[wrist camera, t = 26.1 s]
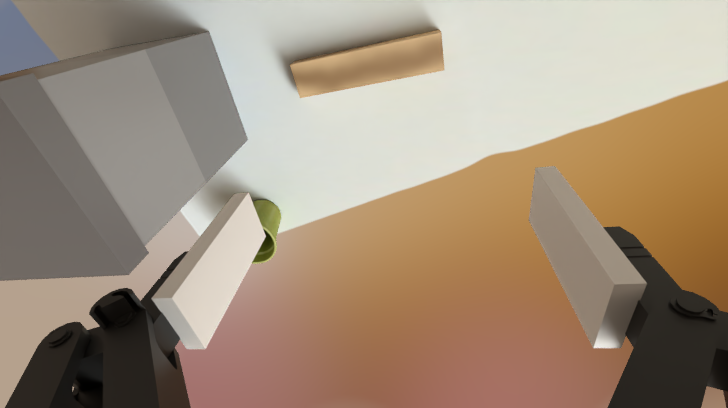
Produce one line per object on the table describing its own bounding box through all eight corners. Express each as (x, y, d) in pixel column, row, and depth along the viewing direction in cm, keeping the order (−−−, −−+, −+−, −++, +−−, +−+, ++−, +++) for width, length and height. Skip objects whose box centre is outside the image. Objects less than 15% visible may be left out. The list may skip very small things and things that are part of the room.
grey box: (104, 45, 50) (-197, 114, 25) (210, 26, 47) (-10, 84, 22) (159, 152, 59) (-21, 281, 34) (251, 142, 56) (128, 275, 31)
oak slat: (295, 60, 49) (289, 65, 46) (439, 29, 45) (441, 32, 42) (305, 92, 51) (300, 98, 49) (442, 65, 47) (444, 70, 45)
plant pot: (300, 211, 63) (286, 242, 56) (274, 240, 67) (259, 272, 60) (256, 181, 60) (235, 209, 53) (232, 214, 65) (210, 243, 58)
